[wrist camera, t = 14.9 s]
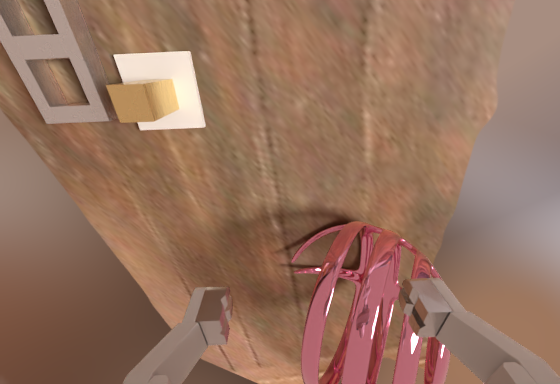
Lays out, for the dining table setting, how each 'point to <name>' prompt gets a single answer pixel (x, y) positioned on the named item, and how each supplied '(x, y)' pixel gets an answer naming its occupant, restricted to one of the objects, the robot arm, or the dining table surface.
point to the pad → (184, 82)
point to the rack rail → (66, 45)
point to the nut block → (143, 100)
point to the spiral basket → (366, 311)
